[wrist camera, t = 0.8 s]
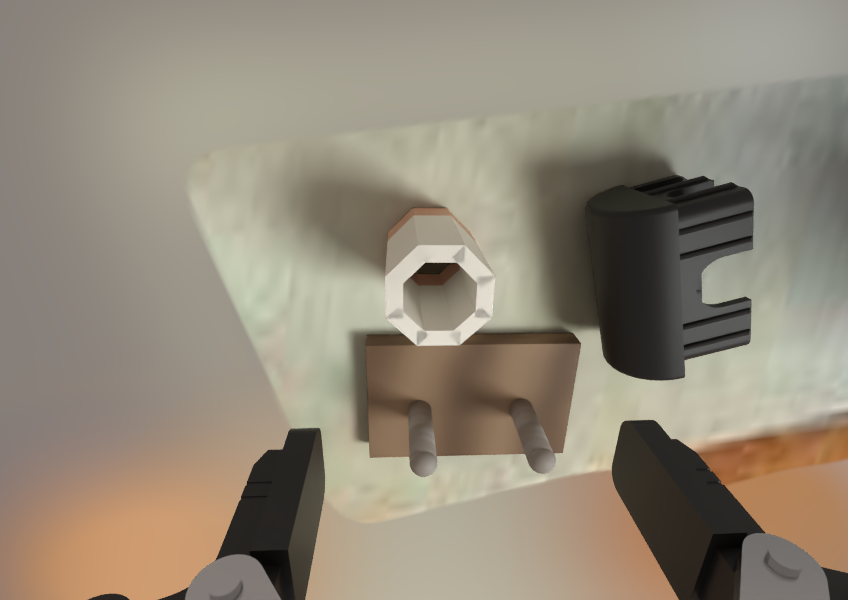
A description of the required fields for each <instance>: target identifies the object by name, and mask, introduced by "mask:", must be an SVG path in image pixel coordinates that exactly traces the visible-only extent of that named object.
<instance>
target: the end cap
mask: <svg viewBox="0 0 848 600" xmlns="http://www.w3.org/2000/svg"><path fill="white" fill-rule="evenodd" d="M585 212H586V220H587V228H588V236H589V244H590V252H591V260H592V269H593V277H594V285H595V293H596V301H597V309H598V317H599V326H600V334H601V342H602V350H603V355H604V358H605V359H606V361H607V362H608V363H609V364H610V365H611V366H612V367H613V368H614V369H616V370H618V371H619V372H621V373H624V374H626V375H628V376H632V377H635V378H639V379H646V380H674V379H679V378H684V377H685V365H684V360H687V359H691V358H695V357H699V356H703V355H707V354H711V353H715V352H719V351H723V350H727V349H731V348H735V347H739V346H743V345H747V344H749V342H750V337H751V299H749V298H747V297H742V298H739V299H735V300H731V301H727V302H723V303H719V304H705V303H702V286H701V273H702V272H703V270H704V269H705V268H706V267H707V266H708V265H709V264H710V263H712V262H713V261H715V260H717V259H718V258H721V257H724V256H728V255H732V254H736V253H739V252H743V251H747V250H751V249H753V214H754V200H753V196H752V194H751V192H750V191H749V190H748V189H747V188H744V187H740V186H737V185H735V184H734V183H732V182H730V183H727V184H723V185H719V186H716V187H714V180H710V179H708V178H707V177H705V176H701V177H697V178H694V179H690V180H687V179H686V178H684V177H682V176H670V177H666V178H662V179H659V180H655V181H651V182H648V183H644V184H640V185H636V186H633V187H629V188H628V187H626V186H623V185H621V186H617V187H614V188H611V189H608V190H606V191H603V192H601V193H599V194H597V195H595V196H594V197H592V198H591V199H590V200H589V201H588V202H587V204H586V206H585Z"/></svg>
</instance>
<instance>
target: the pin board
mask: <svg viewBox="0 0 848 600" xmlns="http://www.w3.org/2000/svg"><path fill="white" fill-rule="evenodd" d="M580 347H581V343H580V342H579V340H578V339H577V338H576V336H575V335H574V334H573V333H543V334H472V335H471V336H470V337H469V338H468V339H466V340H465V341H464V342H463V343H462V344H461V345H460V346H459V345H444V346H417V345H415V344H414V343H413V342H412V341H411V340H410V339H409V338H408V337H406V336H405V335H367V340H366V368H367V395H368V423H369V451H370V458H373V457H410V467H411V469H412V471H413V472H414V473H415V474H416V475H418V476H421V477H426V476H429V475H431V474H432V473H433V472H434V471H435V469H436V467H437V456H455V455H497V454H525V455H526V457H527V460H528V463H529V465H530V467H531V468H532V469H533V470H534V471H535V472H537V473H541V474H545V473H548V472H550V471H551V470H552V469H553V468H554V466H555V463H556V458H555V455H554V453H563V448H564V442H565V436H566V431H567V425H568V419H569V413H570V407H571V401H572V395H573V389H574V383H575V377H576V371H577V365H578V359H579V353H580Z"/></svg>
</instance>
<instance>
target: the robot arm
mask: <svg viewBox="0 0 848 600" xmlns="http://www.w3.org/2000/svg"><path fill="white" fill-rule="evenodd" d="M612 476H613V482H614V485H615V488H616V490H617V492H618V494H619V495H620V497H621V499H622V501H623V502H624V504H625V506H626V508H627V509H628V511H629V513H630V515H631V516H632V518H633V520H634V522H635V523H636V525H637V527H638V529H639V530H640V532H641V534H642V536H643V537H644V539H645V541H646V542H647V544H648V546H649V548H650V549H651V551H652V553H653V555H654V557H655V558H656V560H657V562H658V564H659V565H660V567H661V569H662V571H663V572H664V574H665V576H666V578H667V579H668V581H669V583H670V585H671V586H672V588H673V590H674V592H675V593H676V595H677V597H678V599H679V600H848V573H845V572H840V571H836V570H832V569H827V568H823V567H821V566H820V565H819V564H818V563H817V562H816V561H815V560H814V558H812V557H811V556H810V555H809V554H808V553H807V552H805V551H804V550H803V549H801V548H800V547H798V546H797V545H795V544H793V543H792V542H790V541H788V540H785V539H783V538H781V537H778V536H775V535H771V534H766V533H765V532H764V531H763V530H762V529H761V527H760V526H759V525H758V524H757V523H756V521H755V520H754V519H753V518H752V517H751V516H750V514H748V512H747V511H746V510H745V509H744V508H743V506H742V505H741V504H740V503H739V502H738V501H737V499H735V497H734V496H733V495H732V494H731V493H730V491H729V490H728V489H727V488H726V487H725V485H722V484H721V481H720V480H719V479H718V477H717V476H716V475H715V474H714V473H713V472H710V468H709V467H708V466H707V465H706V463H705V462H704V461H703V460H702V459H701V458H700V456H699V455H698V454H697V453H696V452H695V451H693V450H692V449H690V448H689V447H687V446H686V445H684V444H683V443H682V442H680V441H679V440H677V439H671V438H670V437H669V436H668V435H667V434H666V432H665V431H664V430H663V429H662V428H661V426H660V425H659V424H658V423H657V422H656V421H654V420H636V421H624V422H623V423H622V425H621V427H620V432H619V436H618V441H617V445H616V450H615V455H614V459H613V464H612ZM324 492H325V470H324V460H323V449H322V439H321V431H320V428H301V429H290V430H289V432H288V435H287V438H286V441H285V445H284V447H283V450H268V451H267V452H266V453H265V454H264V455H263V456H262V457H261V458H260V459H259V460H258V461H257V462H256V463H255V464H254V466H253V468H252V471H251V473H250V476H249V478H248V481H247V486H245V488H244V491H243V493H242V496H241V500H240V501H239V503H238V506H237V509H236V511H235V514H234V516H233V519H232V521H231V524H230V526H229V529H228V531H227V534H226V536H225V539H224V541H223V544H222V546H221V549H220V551H219V554H218V556H217V558H216V560H215V561H214V562H212V563H211V564H209V565H208V566H206V567H205V568H204V569H203V570H201V571H200V572H199V574H198V575H197V576H196V577H195V578H194V579H193V581H192V582H191V584H190V586H189V587H188V588H186V589H184V590H182V591H180V592H178V593H176V594H173V595H171V596H168V597H165V598H162V599H159V600H305V597H306V591H307V586H308V581H309V576H310V569H311V564H312V559H313V554H314V548H315V542H316V537H317V532H318V526H319V521H320V516H321V511H322V505H323V500H324ZM89 600H129V599H128V598H127V597H125V596H123V595H120V594H105V595H100V596H97V597H93V598H91V599H89Z"/></svg>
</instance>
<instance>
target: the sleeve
mask: <svg viewBox="0 0 848 600" xmlns="http://www.w3.org/2000/svg"><path fill="white" fill-rule="evenodd" d="M424 263H451V264H450V265H449V266H448V267H447V268H446V269H444V270H443V271H442V272H441V273H440V274H417V273H416V271H417V270H418V269H419V268H420V267H421V266H422V265H423V264H424ZM494 286H495V275H494V273H493V271H492V270H491V268H490V266H489V264H488V263H487V261H486V259H485V257H484V256H483V254H482V252H481V250H480V249H479V247H478V245H477V243H476V242H475V240H474V238H473V237H472V235H471V233H470V232H469V231H468V230H467V229H466V228H465V227H464V225H463V224H462V223H461V222H460V221H459V220H458V219H457V218H456V217H455V216H454V215H453V214H452V213H451V212H450V211H449V210H448V209H447V208H412V209H411V210H410V211H409V212H408V213H407V214H406V215H405V216H404V217H403V218H402V219H401V220H400V221H399V222H398V223H397V224H396V225H395V226H394V227H393V228H392V229H391V230H390V231H389V232H388V242H387V256H386V270H385V292H386V319H387V320H388V321H389V322H391V323H392V324H393V325H394V326H395V327H396V328H397V329H398V330H400V331H401V332H402V333H403V334H404V335H405V336H406V337H408V338H409V339H410V340H411V341H412V342H413V343H414V344H415V345H417V346H444V345H459V346H460V345H461V344H462V343H463V342H464V341H465V340H466V339H468V338H469V337H470V336H471V335H472V334H473V333H475V332H476V331H477V330H478V329H479V328H480V327H482V326H483V325H484V324H485V323H486V322H487V321H489V320H490V319H491V318H492V311H493V298H494Z"/></svg>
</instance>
